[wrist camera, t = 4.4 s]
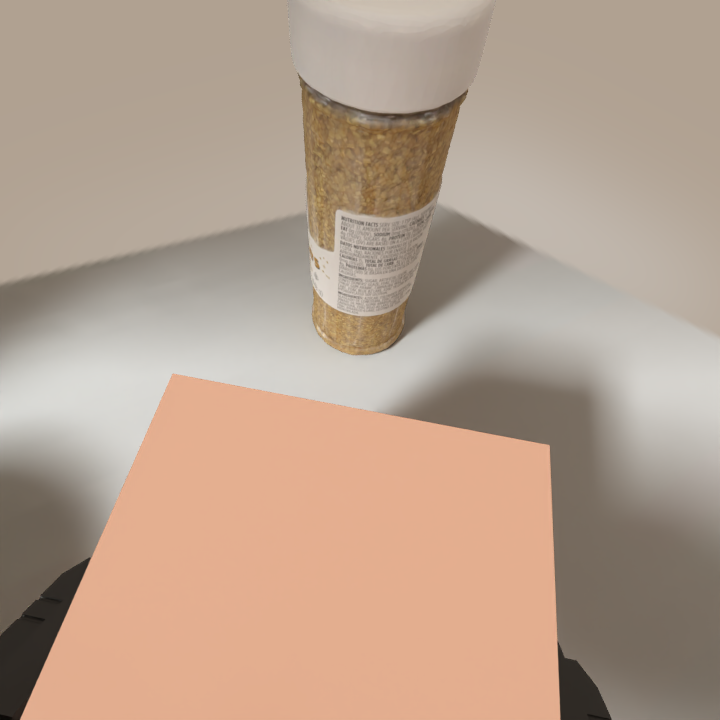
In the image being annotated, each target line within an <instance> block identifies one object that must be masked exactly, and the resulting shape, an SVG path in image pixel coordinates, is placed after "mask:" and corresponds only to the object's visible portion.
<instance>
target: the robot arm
mask: <svg viewBox="0 0 720 720" xmlns="http://www.w3.org/2000/svg"><path fill="white" fill-rule="evenodd" d="M90 560H91V558H88V559H87V560H85V561H83V562H81V563H80V564H78V565H76V566H75V567H73V568H71V569H70V570H68V571H66V572H65V573H63V574H62V575H61V576H60V577H59V578H58V579H57V580H56V581H55V582H54V583H53V584H52V585H51V586H50V587H49V588H48V589H47V590H46V591H45V592H44V593H43V594H42V595H41V597H40V599H39V600H36V601H35V602H34V603H33V604H32V605H31V606H30V607H29V608H28V609H27V610H26V611H25V612H24V613H23V614H22V616H21V618H20V619H17V620H16V621H15V622H14V623H13V624H12V625H11V626H10V627H9V628H8V629H7V630H6V631H5V632H4V633H3V634H2V635H1V636H0V720H20V719H21V716H22V714H23V712H24V710H25V707H26V705H27V703H28V700H29V698H30V696H31V694H32V691H33V689H34V687H35V685H36V682H37V680H38V678H39V676H40V673H41V671H42V669H43V666H44V664H45V662H46V660H47V657H48V655H49V653H50V651H51V648H52V646H53V644H54V642H55V639H56V637H57V635H58V632H59V630H60V628H61V626H62V623H63V621H64V619H65V617H66V614H67V612H68V610H69V608H70V605H71V603H72V601H73V599H74V596H75V594H76V592H77V589H78V587H79V585H80V583H81V580H82V578H83V576H84V574H85V571H86V569H87V567H88V565H89V562H90ZM557 645H558V671H559V696H560V720H611V717H610V714H609V712H608V710H607V708H606V705H605V703H604V701H603V699H602V696H601V694H600V692H599V690H598V688H597V687H596V685H595V684H594V683H593V681H592V680H591V679H590V677H589V676H588V675H587V674H586V672H585V671H584V670H583V668H582V667H581V666H580V664H579V663H578V662H577V661H576V660H571V659H566V658H564V655H563V653H562V650H561V648H560V645H559V643H558V640H557Z"/></svg>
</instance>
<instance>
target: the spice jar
mask: <svg viewBox="0 0 720 720" xmlns="http://www.w3.org/2000/svg"><path fill="white" fill-rule="evenodd" d="M495 2H496V0H288V18H289V31H290V44H291V54H292V59H293V63H294V66H295V68H296V70H297V72H298V76H299V79H300V86H301V88H302V106H303V125H304V142H305V154H306V157H305V162H306V170H307V179H306V210H307V224H308V240H309V256H310V273H311V280H312V284H313V294H314V303H313V307H312V317H313V322H314V325H315V328H316V330H317V332H318V334H319V336H320V337H321V338H322V339H323V340H324V341H325V342H326V343H327V344H329V345H330V346H332V347H333V348H335V349H337V350H340V351H341V352H344V353H348V354H351V355H368V354H373V353H377V352H380V351H382V350H384V349H386V348H388V347H389V346H390V345H391V344H392V343H394V342H395V340H396V339H397V338H398V336H399V335H400V333H401V331H402V329H403V326H404V321H405V313H404V310H405V307H406V303H407V300H408V297H409V295H410V293H411V290H412V288H413V285H414V281H415V278H416V274H417V271H418V267H419V264H420V260H421V257H422V253H423V249H424V246H425V242H426V239H427V236H428V232H429V228H430V225H431V221H432V217H433V214H434V210H435V206H436V203H437V199H438V195H439V192H440V188H441V184H442V173H443V170H444V166H445V162H446V158H447V154H448V150H449V147H450V142H451V139H452V136H453V132H454V129H455V124H456V121H457V117H458V114H459V109H460V105H461V104H462V103H463V101H464V100H465V98H466V95H467V92H468V88H469V87H470V86H471V84H472V83H473V81H474V78H475V77H476V74H477V71H478V67H479V64H480V61H481V57H482V54H483V50H484V46H485V43H486V38H487V35H488V31H489V27H490V23H491V19H492V15H493V10H494V6H495Z"/></svg>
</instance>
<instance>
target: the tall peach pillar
mask: <svg viewBox="0 0 720 720" xmlns="http://www.w3.org/2000/svg"><path fill="white" fill-rule="evenodd" d="M20 720H560V696H559V671H558V645H557V620H556V594H555V569H554V543H553V518H552V492H551V467H550V445H546V444H541V443H536V442H530V441H525V440H520V439H514V438H509V437H504V436H499V435H493V434H488V433H483V432H478V431H472V430H467V429H462V428H456V427H451V426H446V425H441V424H435V423H430V422H425V421H420V420H414V419H409V418H404V417H398V416H393V415H388V414H383V413H377V412H372V411H367V410H362V409H356V408H351V407H346V406H341V405H335V404H330V403H325V402H319V401H314V400H309V399H304V398H298V397H293V396H288V395H283V394H277V393H272V392H267V391H261V390H256V389H251V388H246V387H240V386H235V385H230V384H225V383H219V382H214V381H209V380H204V379H198V378H193V377H188V376H182V375H177V374H172V376H171V379H170V381H169V383H168V385H167V388H166V390H165V392H164V395H163V397H162V399H161V401H160V404H159V406H158V408H157V410H156V413H155V415H154V417H153V419H152V422H151V424H150V426H149V429H148V431H147V433H146V435H145V438H144V440H143V442H142V444H141V447H140V449H139V451H138V453H137V456H136V458H135V460H134V463H133V465H132V467H131V469H130V472H129V474H128V476H127V478H126V481H125V483H124V485H123V487H122V490H121V492H120V494H119V497H118V499H117V501H116V503H115V506H114V508H113V510H112V512H111V515H110V517H109V519H108V521H107V524H106V526H105V528H104V531H103V533H102V535H101V537H100V540H99V542H98V544H97V546H96V549H95V551H94V553H93V555H92V558H91V560H90V562H89V565H88V567H87V569H86V571H85V574H84V576H83V578H82V580H81V583H80V585H79V587H78V589H77V592H76V594H75V596H74V599H73V601H72V603H71V605H70V608H69V610H68V612H67V614H66V617H65V619H64V621H63V623H62V626H61V628H60V630H59V632H58V635H57V637H56V639H55V642H54V644H53V646H52V648H51V651H50V653H49V655H48V657H47V660H46V662H45V664H44V666H43V669H42V671H41V673H40V676H39V678H38V680H37V682H36V685H35V687H34V689H33V691H32V694H31V696H30V698H29V700H28V703H27V705H26V707H25V710H24V712H23V714H22V716H21V719H20Z"/></svg>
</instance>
